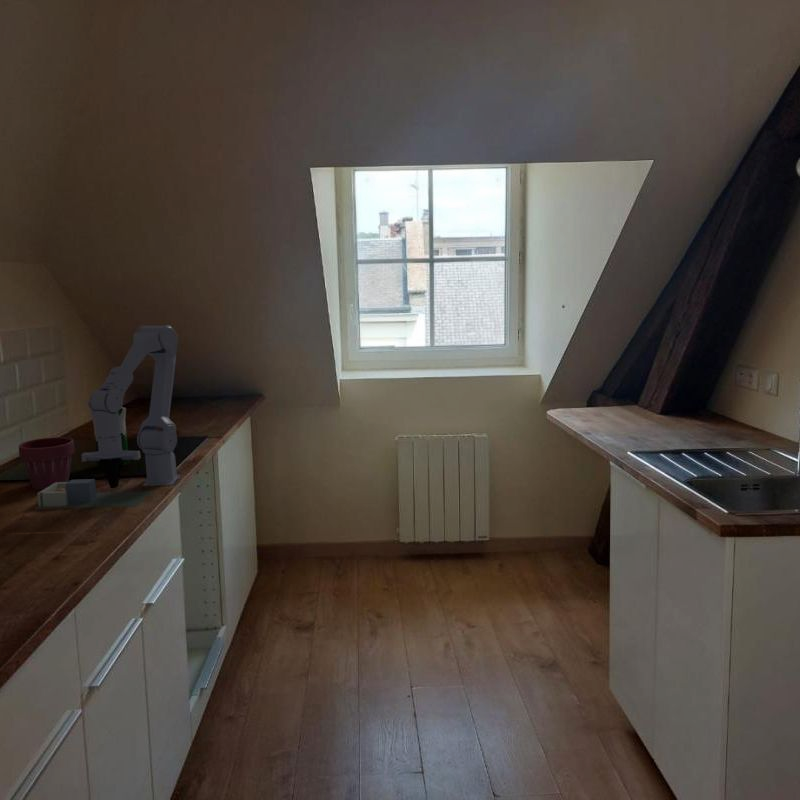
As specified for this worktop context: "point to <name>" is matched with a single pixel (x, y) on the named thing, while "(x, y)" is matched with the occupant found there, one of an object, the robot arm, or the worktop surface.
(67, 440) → the plant pot
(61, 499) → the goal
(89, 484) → the block
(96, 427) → the robot arm
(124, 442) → the milk carton
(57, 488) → the ball
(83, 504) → the pitch mat
